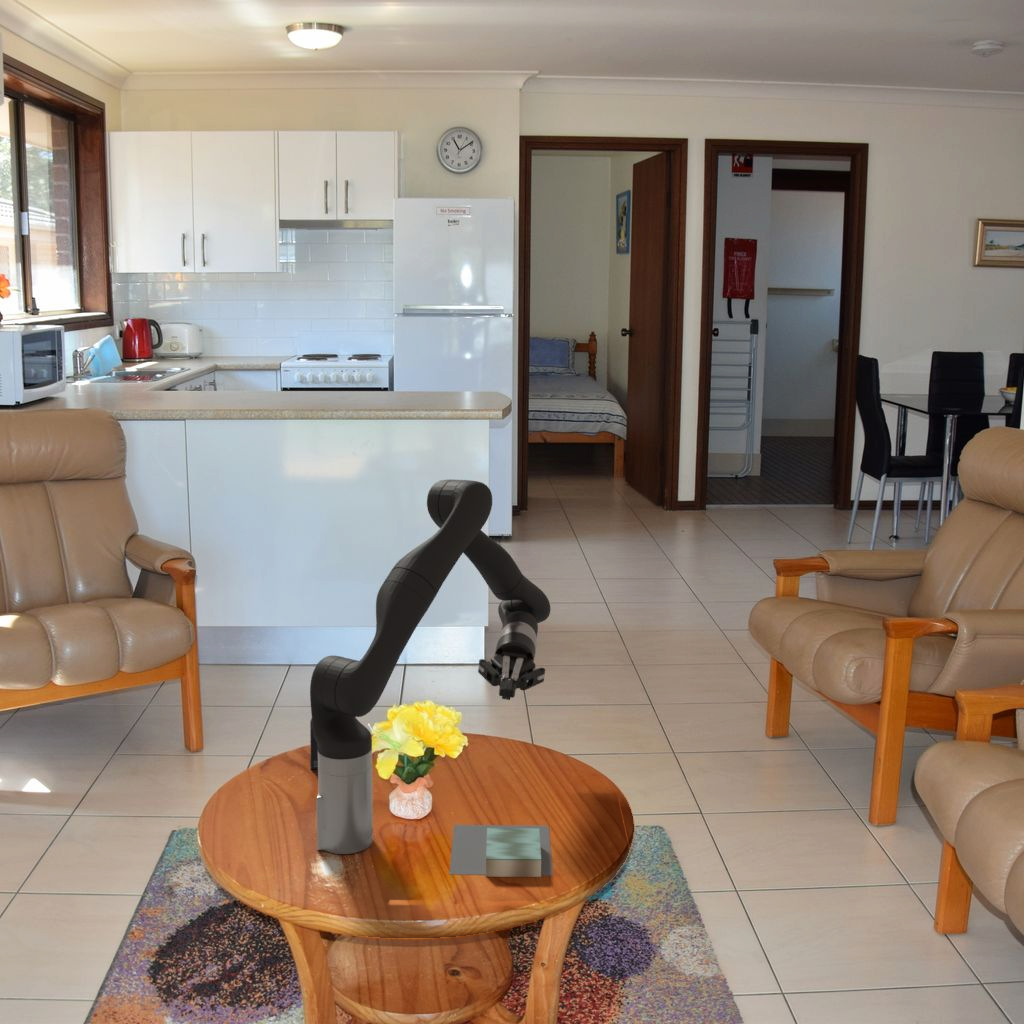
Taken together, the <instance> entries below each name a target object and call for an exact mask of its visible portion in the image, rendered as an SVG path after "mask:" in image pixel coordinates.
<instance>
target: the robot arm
mask: <svg viewBox="0 0 1024 1024" xmlns="http://www.w3.org/2000/svg"><path fill="white" fill-rule="evenodd" d="M426 507H427V512H428V514H429V517H430V518H431V519H432V521H433V523H435V525H436V526H437V527H438V528H439V529H438V530H437V531H436V532H435V533H434V534H433V535H432V536H431V537H429V538H428V539H426V540H425V541H424V542H422V543H421V544H420V545H417V546H416V547H415V548H414V549H412V550H411V551H409V552H408V553H406V554H405V555H404V556H403V557H402V558H400V559H399V560H398V561H397V562H396V563H395V565H394V566H393V568H391V570H390V572H389V573H388V575H387V576H386V578H385V580H384V581H383V583H382V584H381V586H380V587H379V590H378V592H377V595H376V600H375V618H376V619H375V620H376V621H375V623H376V625H375V626H376V627H375V630H376V631H375V634H374V637H373V639H372V642H371V643H370V645H369V647H368V649H367V650H366V652H365V654H364V655H363V656H362V658H361V659H360V660H357V659H353V658H349V657H344V656H340V655H327V656H325V657H323V658H322V659H321V660H319V661H318V663H317V664H316V666H314V669H313V672H312V675H311V679H310V687H309V697H310V698H309V699H310V710H311V711H310V713H311V718H312V728H313V734H314V737H315V739H316V741H317V746H318V769H317V775H318V777H317V779H318V780H317V783H318V787H317V789H318V793H317V795H316V800H315V802H316V803H315V804H316V805H315V806H316V813H315V814H316V848H317V849H316V850H318V851H326V852H328V853H330V854H336V855H351V854H357V853H360V852H362V851H364V850H367V849H368V848H370V847H371V846H372V844H373V842H374V841H373V837H374V834H373V833H374V827H373V826H374V825H373V823H374V822H373V821H374V820H373V818H374V817H373V816H374V814H373V810H374V809H373V807H374V806H373V740H372V739H373V738H372V734H371V732H370V730H369V729H368V728H367V727H366V726H365V725H363V723H362V722H360V721H359V720H358V718H361V717H364V716H366V715H367V714H368V713H370V712H371V711H372V710H373V709H374V708H375V706H376V705H377V703H378V701H380V699H381V696H382V695H383V693H384V691H385V688H386V687H387V684H388V683H389V680H390V678H391V676H392V674H393V672H394V669H395V668H396V665H398V661H399V659H400V657H401V655H402V653H403V651H404V650H405V648H406V646H407V644H408V643H409V641H410V639H411V637H412V635H413V634H414V631H416V628H417V627H418V625H419V624H420V622H421V620H422V619H423V618H424V617H425V615H426V613H427V612H428V610H429V608H430V607H431V605H432V603H433V602H434V600H435V598H436V596H437V594H438V593H439V592H440V589H441V588H442V586H443V585H444V582H445V581H446V579H447V577H448V576H449V574H450V573H451V572H452V570H453V568H454V567H455V565H456V564H457V562H458V560H459V559H460V558H461V556H462V555H465V557H467V559H469V561H470V562H471V563H472V565H473V566H474V567H475V568H476V570H477V571H478V573H479V574H480V575H481V577H482V579H483V581H484V582H485V584H486V585H487V586H488V588H489V589H490V591H491V592H492V594H493V595H494V596H495V598H497V599H498V600H500V603H499V605H498V609H497V611H498V612H497V613H498V616H499V618H500V619H499V620H500V622H501V624H502V628H501V631H500V634H499V636H498V639H497V643H496V647H495V651H494V654H493V655H494V656H491V658H490V660H488V661H487V660H486V659H484V658H481V659H479V661H478V668H477V673H478V674H479V675H480V676H481V677H482V678H483V679H485V680H486V681H487V683H489V684H490V685H491V686H492V687H498V686H499V690H498V695H499V697H501V700H508V701H510V700H511V698H512V699H513V698H514V697H515V695H516V691H517V689H519V690H521V691H526V690H529V689H531V688H534V687H535V686H538V685H540V684H542V683H544V682H545V674H546V668H544V667H539V668H537V667H536V663H535V658H536V657H535V656H536V653H537V651H536V650H537V638H538V637H537V636H538V632H539V624H540V623H543V622H544V621H546V620H547V619H549V617H550V614H551V609H552V608H551V603H550V600H549V598H548V597H547V595H546V594H545V592H544V591H543V590H542V589H541V588H540V587H538V586H537V585H536V584H534V583H533V582H532V581H531V580H529V578H527V577H526V576H525V575H524V574H523V573H522V571H521V570H520V568H519V566H518V565H517V563H516V562H515V560H514V558H513V557H512V555H511V554H510V553H509V552H508V551H507V550H506V549H505V548H504V547H503V546H502V545H500V544H499V543H498V542H496V541H495V540H494V539H493V538H491V537H490V536H489V535H488V534H486V533H485V532H484V531H482V529H483V528H484V526H485V525H486V523H487V521H488V518H489V516H490V513H491V511H492V507H493V494H492V491H491V489H490V487H489V486H488V485H487V484H485V483H483V482H481V481H476V480H471V479H470V480H469V479H442V480H439V481H437V482H435V483H434V484H433V485H432V486H431V487H430V489H429V491H428V493H427V496H426Z"/></svg>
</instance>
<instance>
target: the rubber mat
mask: <svg viewBox="0 0 1024 1024" xmlns="http://www.w3.org/2000/svg"><path fill="white" fill-rule="evenodd" d="M487 828H539V832H540V848H541V877H542V876H546V877H547V876H548V877H549V876H550V877H551V876H554V871H553V859H552V849H551V847H552V846H551V838H550V837H551V836H550V835H551V834H550V825H538V824H537V825H531V824H530V825H527V824H526V825H524V824H523V825H518V824H516V825H515V824H514V825H513V824H511V825H510V824H508V825H505V824H504V825H503V824H453V830H452V831H453V832H452V844H451V854H450V861H449V862H450V864H449V873H448V874H449V875H451V876H452V875H453V876H455V875H457V876H458V875H459V876H486V845H487Z"/></svg>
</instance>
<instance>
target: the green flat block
mask: <svg viewBox="0 0 1024 1024" xmlns="http://www.w3.org/2000/svg"><path fill="white" fill-rule="evenodd" d="M485 877H488V878H489V877H492V878H493V877H496V878H498V877H501V878H503V877H504V878H505V877H506V878H509V877H511V878H528V877H529V878H541V877H542V875H541V848H540V832H539V828H487V845H486V875H485Z"/></svg>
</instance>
